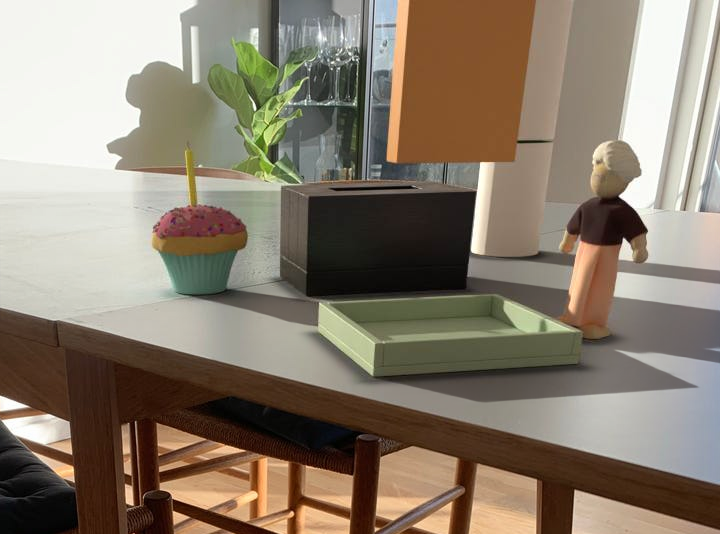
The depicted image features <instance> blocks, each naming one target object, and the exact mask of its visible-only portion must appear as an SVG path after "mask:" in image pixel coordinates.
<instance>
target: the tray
mask: <svg viewBox="0 0 720 534" xmlns="http://www.w3.org/2000/svg"><path fill="white" fill-rule="evenodd" d="M555 319H556V318H553V317H551V316H548V315H546V314H544V313H542V312H540V311H538V310H534V309H533V308H530V307H528V306H526V305H524V304H521V303H519V302H517V301H514V300H512V299H509V298H508V297H505V296H503V295H500V294H498V293H491V294H490V293H487V294H485V293H484V294H467V295H447V296H446V295H445V296H443V295H442V296H426V297H425V296H424V297H423V296H422V297H406V298H404V297H403V298H388V299H387V298H382V299H363V300H362V299H361V300H344V301H324V302H322V301H321V302H319V303H318V324H317V327H318V328H317V331H318V333H319V334H321V335H322V336H323V337H325V339H327V340H328V341H329V342H330V343H332V344H333V345H334V346H335V347H337V349H339V350H340V351H342V353H344V354H345V355H346V356H347V357H349V358H350V359H351V360H352V361H353V362H354V363H356V364H357V365H358V366H360V368H362V369H363V370H364V371H365V372H367V373H368V374H369V375H370V376H372V377H373V378H375V377H376V378H377V377H392V376H393V377H394V376H408V375H425V374H441V373H453V372H457V373H458V372H470V371H485V370H487V371H488V370H501V369H502V370H503V369H519V368H533V367H536V368H537V367H549V366H565V365H566V366H567V365H578V364H579V360H580V354H581V349H582V342H583V338H582V337H583V331H581V330H578V329H576V328H574V327H571V326H569V325H567V324H565V323H562V322H560V321H558V320H555Z"/></svg>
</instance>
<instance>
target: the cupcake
mask: <svg viewBox="0 0 720 534" xmlns="http://www.w3.org/2000/svg"><path fill="white" fill-rule="evenodd" d="M185 142H186V149H187V150H185V152H184V153H185V155H184V156H185V165H186V176H187V187H188V197H189V205H187V206H184V207H182V206H181V207H174V208H172V209H169V211H168V212H165V213H164V214H163V215H162V216H160V219H159V220H158V221H157V222H156V223H155V224H154V226H152V237H151V247H152V248H153V249H154V250H155V251H157V252H158V253H159V255H160V258H161V259H162V261H163V263H164V265H165V268H166V270H167V273H168V276H169V279H170V283H171V287H172V289H173V291H174V292H175V293H177V294H178V293H179V294H183V295H196V296H197V295H198V296H200V295H213V294H220V293H222V292H224V291H226V289H227V286H228V282H229V278H230V275H231V270H232V267H233V264H234V261H235V259H236V256H237V254H238V252H239V251H241V250H244V249H245V248H246V247H247V245H248V239H249V238H248V237H249V234H248V231H247V225H246V224H244V222H243V221H242V218H238V217H237V216H236V215H235V214H233V213H232V211H230V210H228V209H227V210H226V209H224V208H222V207H221V206H220V207H217V206H214V205H207V204H204V205H202V204H198V194H197V183H196V172H195V162H194V161H195V159H194V150H191V149H190V141H189V139H187V140H186V141H185Z"/></svg>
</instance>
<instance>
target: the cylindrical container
mask: <svg viewBox="0 0 720 534" xmlns="http://www.w3.org/2000/svg"><path fill="white" fill-rule="evenodd" d="M574 1H575V0H536V5H535V13H534V20H533V28H532V35H531V43H530V50H529V58H528V65H527V73H526V80H525V88H524V95H523V103H522V110H521V118H520V125H519V132H518V140H517V147H516V155H515V162H479V163H480V165H479V172H478V173H479V174H478V181H477V182H478V184H477V191H476V200H475V209H474V219H473V228H472V237H471V246H470V253H473V254H474V255H480V256H487V257H496V258H497V257H499V258H500V257H501V258H519V257H520V258H523V257H532V256H535V255H538V254H539V250H540V249H539V248H540V241H541V234H542V228H543V221H544V214H545V207H546V200H547V199H546V198H547V192H548V185H549V179H550V171H551V164H552V156H553V149H554V142H555V141H553V140H554V139H555V134H556V128H557V121H558V115H559V107H560V101H561V100H560V99H561V93H562V86H563V78H564V73H565V72H564V71H565V65H566V58H567V51H568V44H569V36H570V29H571V22H572V17H573V9H574V3H575V2H574Z"/></svg>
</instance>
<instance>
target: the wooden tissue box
mask: <svg viewBox="0 0 720 534" xmlns="http://www.w3.org/2000/svg"><path fill="white" fill-rule="evenodd" d="M476 200H477V191H476V190H473V189H468V188H464V187H459V186H455V185H451V184H446V183H442V182H438V181H433V180H431V181H401V182H399V181H396V182H359V183H357V182H356V183H328V184H327V183H323V184H291V185H288V184H287V185H280V221H279V222H280V226H279V231H280V233H279V235H280V236H279V237H280V238H279V245H280V246H279V278H281V279H282V280H283V281H286V283H288V284H289V285H290V286H292V287H293V288H295V289H296V290H297V291H299V292H300V293H302V294H303V295H304V296H306V297H312V296H313V297H315V296H317V297H318V296H335V295H360V294H376V293H398V292H419V291H420V292H421V291H422V292H423V291H441V290H461V289H466V288H467V283H468V282H467V281H468V274H469V264H470V256H471V255H470V254H471V247H472V238H473V229H474V219H475V210H476Z"/></svg>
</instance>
